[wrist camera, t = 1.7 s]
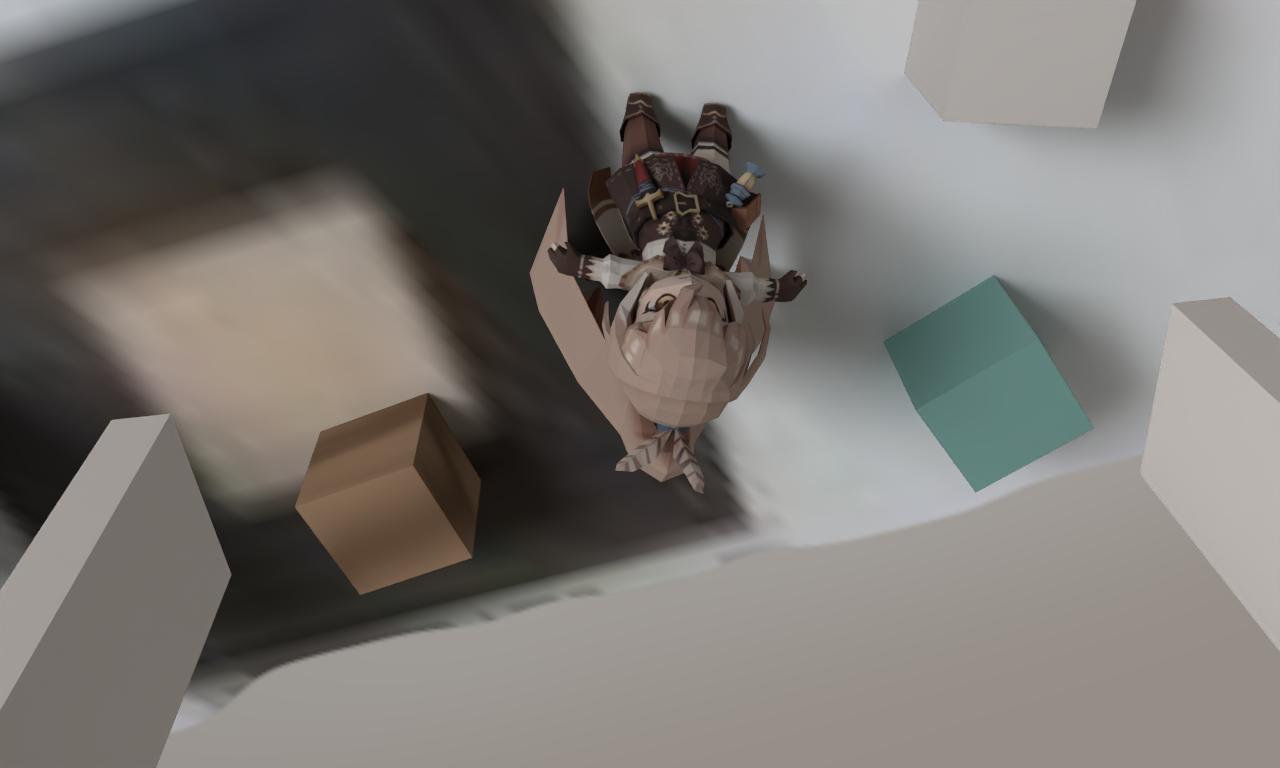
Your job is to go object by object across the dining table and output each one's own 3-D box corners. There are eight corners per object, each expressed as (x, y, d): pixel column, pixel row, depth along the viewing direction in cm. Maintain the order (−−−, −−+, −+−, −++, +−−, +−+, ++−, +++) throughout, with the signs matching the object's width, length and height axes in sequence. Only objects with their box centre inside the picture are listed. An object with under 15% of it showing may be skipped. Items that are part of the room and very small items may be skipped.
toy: (816, 83, 37) (876, 429, 28) (754, 259, 44) (785, 589, 34) (556, 44, 36) (524, 391, 26) (532, 231, 42) (500, 564, 33)
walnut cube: (320, 430, 45) (294, 507, 41) (428, 391, 44) (412, 465, 40) (379, 514, 48) (360, 594, 43) (481, 479, 47) (472, 557, 43)
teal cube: (883, 341, 44) (915, 409, 40) (993, 274, 43) (1038, 338, 38) (939, 419, 46) (975, 492, 42) (1045, 358, 45) (1093, 428, 41)
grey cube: (933, -79, 35) (982, -47, 31) (1081, -70, 36) (1148, -37, 31) (903, 72, 38) (943, 121, 34) (1040, 79, 38) (1096, 128, 34)
